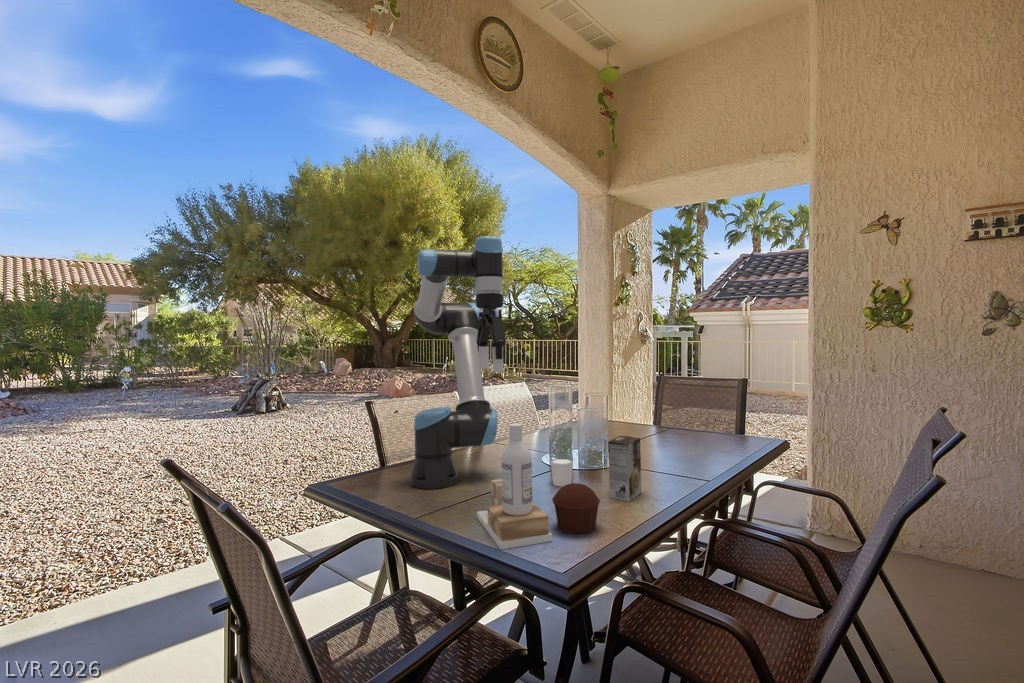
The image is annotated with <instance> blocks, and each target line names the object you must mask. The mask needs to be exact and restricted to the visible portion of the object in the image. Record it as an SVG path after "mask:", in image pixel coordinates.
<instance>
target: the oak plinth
mask: <svg viewBox="0 0 1024 683" xmlns="http://www.w3.org/2000/svg"><path fill="white" fill-rule="evenodd" d="M487 510H488V524H489V525H490V527H491V528H492V529H493V531H494V532H495V533H496V534H497V536H498V537H499V538H500V540H501V541H508V540H514V539H520V538H527V537H533V536H539V535H545V534H549V532H550V528H549V526H550V525H549V524H550V521H549V515H548V514H547V513H546V512H545V511H543V510H542V509H541V508H540V507H539V506H537V505H536V504H535V503H534V502H533V501H532V511H531V512H530V513H528V514H526V515H520V516H514V515H508V514H506V513H504V511H503V505H496V506H492V505H490V506H487Z"/></svg>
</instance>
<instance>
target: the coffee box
mask: <svg viewBox="0 0 1024 683" xmlns="http://www.w3.org/2000/svg"><path fill="white" fill-rule="evenodd" d="M607 443H608V490H609V493H608V494H609V498H610V499H614V500H619V501H624V502H631V501H633V500H634V499H635V498H636V497H638V496H639V495H640V494H641V493H642V465H641V464H642V463H641V462H642V461H641V438H640V437H633V436H627V435H619V436H616V437H615V438H612V439H611V440H608V442H607Z"/></svg>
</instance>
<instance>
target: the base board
mask: <svg viewBox="0 0 1024 683" xmlns="http://www.w3.org/2000/svg"><path fill="white" fill-rule="evenodd" d="M476 518H477V520H478V521H479V522H480V524H481V525H482V527H483V528H484V530H486V532H487V534H488V535H489V536H490V538H491V539H492V540H493V541H494V543H495V544H496V546H497V547H498V548H499V550H507V549H513V548H517V547H524V546H531V545H536V544H537V545H538V544H543V543H548V542H549V543H550V542H552V541H553V534H552V533H551V532H550V531H549V534H545V535H539V536H533V537H527V538H520V539H514V540H508V541H501V540H500V538H499V537H498V536H497V534H496V533H495V532H494V531H493V529H492V528H491V527H490V525H489V524H488V509H487V510H479V511H476Z"/></svg>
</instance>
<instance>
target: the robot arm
mask: <svg viewBox="0 0 1024 683" xmlns="http://www.w3.org/2000/svg"><path fill="white" fill-rule="evenodd" d="M473 248H474V249H473V250H452V249H433V248H431V249H420V250H419V251H418V252H417V272H418V275H420V276H421V282H420V288H419V295H418V299H417V300H416V302H415V303H414V306H413V317H414V320H415V321H416V323H417V324H418V325H419V326H420V327H421V328H422V329H423V330H425V331H426V332H428V333H431V334H434V335H447V338H448V340H449V341H450V342H451V343H452V346H453V355H454V364H455V373H456V374H455V375H456V382H457V383H456V384H457V392H458V403H457V405H456V406H455V411H452V408H451V407H449V406H442V407H441V406H440V407H433V408H428V409H424V410H422V411H419V412H417V413H416V415H415V417H414V426H413V430H414V462H413V464H412V468H411V470H410V471H411V472H410V476H409V485H410V486H411V487H413V488H416V489H421V490H423V489H424V490H434V489H435V490H436V489H443V488H448V487H450V486H453V485H456V484H457V483H458V481H459V475H458V470H457V467H456V465H455V463H454V462H455V461H454V459H453V453H452V452H453V449H456V448H457V449H458V448H468V447H470V448H471V447H482V446H489V445H492V444H493V443H494V442H495V441H496V437H497V434H498V420H499V419H498V412H497V410H496V409H495V408H491V404H490V401H488V400H487V399H485V392H484V384H483V377H482V370H490V353H489V352H490V351H489V350H490V347H491V348H492V351H491V352H492V373H502V372H504V346H505V345H506V344H507V340H506V339H507V338H506V335H505V328H504V322H503V315H502V312H503V311H502V309H501V308H503V307H504V295H503V291H504V290H503V289H504V287H503V286H504V285H505V282H504V280H503V278H504V277H503V276H504V275H503V251H504V250H503V244H502V239H501V238H500V237H498V236H494V235H485V236H482V235H481V236H479V237H477V238H476V239H475V240H474V247H473ZM449 277H462V278H463V277H465V278H466V277H469V278H470V277H472V278H473V279H474V280H475V283H474V284H475V285H474V286H475V292H476V293H477V294H476V295H475V302H468V301H465V302H442V301H443V297H444V294H445V288H446V286H447V281H448V278H449ZM490 337H491V340H492V343H491V345H490V342H489V339H490Z"/></svg>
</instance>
